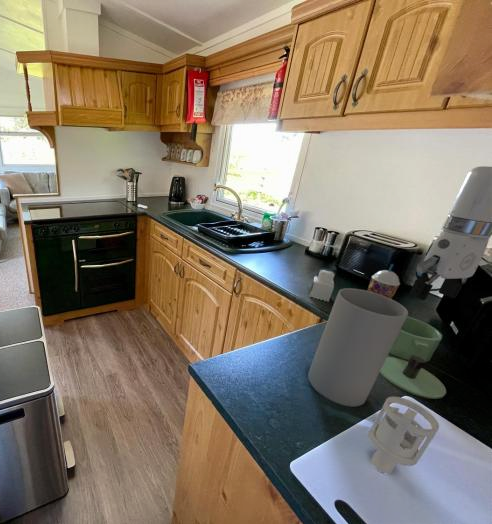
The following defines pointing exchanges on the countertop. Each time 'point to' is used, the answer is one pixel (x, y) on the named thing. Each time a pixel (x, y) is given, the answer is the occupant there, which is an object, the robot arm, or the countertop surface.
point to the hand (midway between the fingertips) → (431, 296)
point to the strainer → (400, 435)
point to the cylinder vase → (355, 345)
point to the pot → (416, 340)
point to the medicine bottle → (323, 285)
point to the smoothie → (384, 283)
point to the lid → (412, 377)
